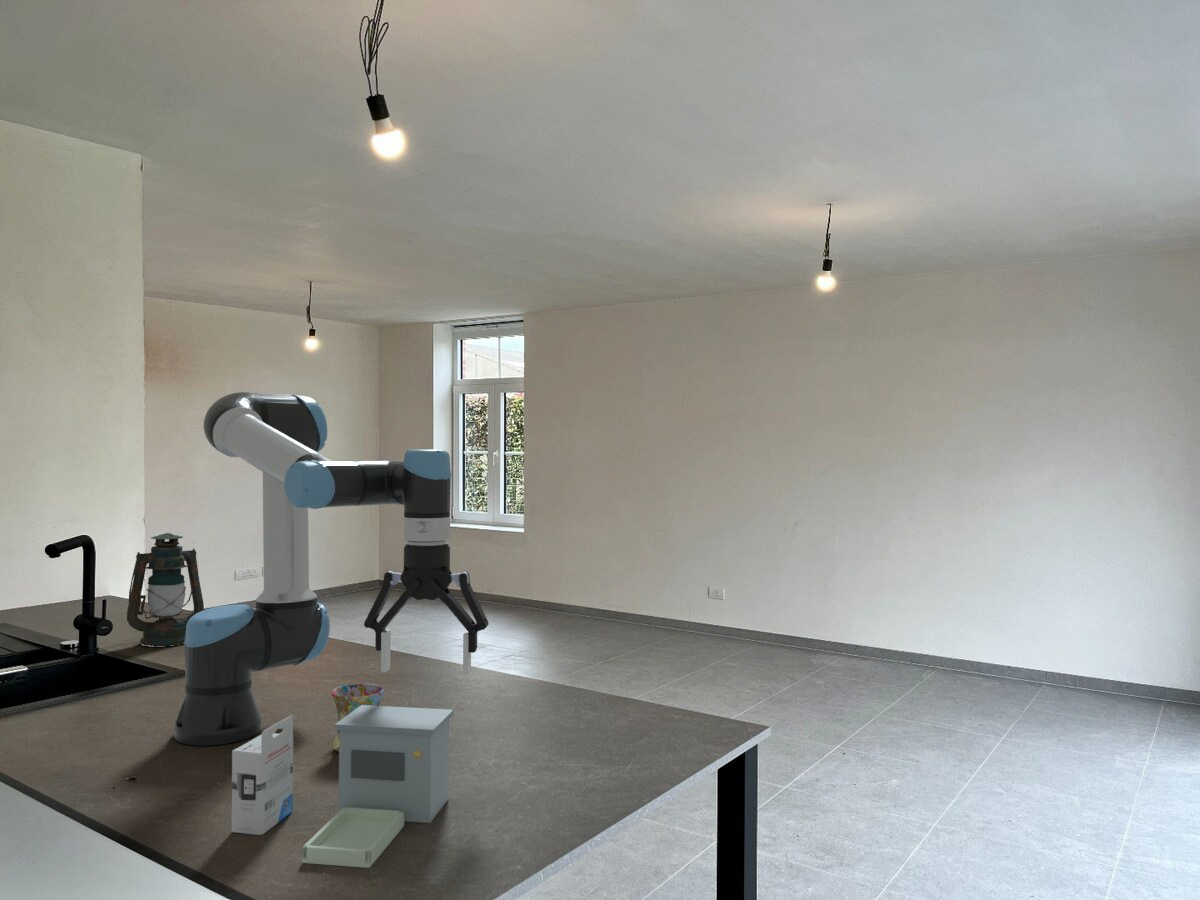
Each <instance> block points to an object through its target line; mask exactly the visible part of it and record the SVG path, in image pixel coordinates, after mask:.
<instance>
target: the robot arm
mask: <svg viewBox="0 0 1200 900" xmlns="http://www.w3.org/2000/svg"><path fill="white" fill-rule="evenodd" d="M327 423H328V422H327V418H326V415H325V412H324V411H323V408H322V407H321V406H320V405H319V403H318V402H317V401H316V400H314V399H313V398H311V397H310V396H306V395H298V394H294V393H288V394H287V393H285V394H284V393H262V392H261V393H259V392H246V391H245V392H244V391H241V392H233V393H230V394H227V395H223V396H222V397H220V398H218V399H217V400H215V401H214V403H212V405H210V407H209V408H208V409H207V411H206V413H205V416H204V419H203V432H204V435H205V437H206V439H207V441H208V442H209V444H210V445H211V446H212V447H213V448H214V449H215V450H217V451H218V452H219V453H221V454H223V455H224V456H227V457H229V458H239V459H241V460H242V461H245V462H246V463H248V464H249V465H251V466H253V467H254V468H256V469H258V470H259V471H261V472H262V525H263V526H262V528H263V530H262V533H263V535H262V542H263V551H262V553H263V590H262V592H261V593H260V594H259V595H258V596H257V597H256V598H255V610H253V608H252V606H250V605H248V604H243V603H242V604H241V603H239V604H238V603H235V604H229V605H226V604H225V605H219V606H214V607H211V608H206V609H204V611H201V612H199V613H196V614H195V615H193V616H192V617H191V618H190V619H189V620H188V622H187V626H186V636H185V640H184V643H185V644H184V651H185V653H184V654H185V655H184V657H185V659H184V660H185V661H184V662H185V663H184V664H185V665H184V667H185V669H184V670H185V674H184V675H185V676H184V678H185V679H184V680H185V682H184V683H185V684H184V685H185V686H184V692H185V693H184V697H183V701H182V702H181V703H182V704H181V706H180V709H179V712H178V714H177V718H176V721H175V723H174V736H173V738H174V740H175V741H176V742H178V743H179V744H182V745H189V746H218V745H225V744H233V743H236V742H240V741H243V740H244V741H245V740H246V739H250V738H251V737H253V736H256V735H257V734H258V733H260V732H261V730H262V716H261V713H260V710H259V707H258V703H257V701H256V698H255V695H254V692H253V689H252V688H253V673H254V672H261V671H264V670H269V669H275V668H280V667H286V666H297V665H301V664H302V663H306V662H310V661H313V660H315V659H317V658H318V657H320V656H321V654H322V652H324V650H325V648H326V647H327V645H328V641H329V636H330V631H331V630H330V629H331V623H330V617H329V615H328V611H327V609H326V607H325V606H324V605H323V604H322V603H320V602H318V594H316V593H315V592H314V591H313V590H312V589H311V588H310V559H309V558H310V557H309V556H310V554H309V553H310V552H309V551H310V548H309V547H310V546H309V541H310V540H309V537H310V536H309V535H310V534H309V509H313V510H318V509H322V508H323V509H324V508H337V507H351V506H352V507H353V506H355V507H356V506H358V507H359V506H360V507H361V506H379V505H397V506H399V505H400V506H403V510H404V512H403V540H404V541H405V542H407V543H405V544H404V545H403V571H402V573H401V572H395V570H389V571H386V572H385V573H384V575H383V579H382V580H383V581H382V587H381V588H380V590H379V593H378V594H377V596H376V599H375V600H374V602H373V604H372V607H371V608H370V611H369V612H368V614H367V617H366V619H365V620H364V622H363V626H364V627H365V629H366V628H367V629H372V630H373V631H374V632H375V636H374V637H375V647H374V648H375V650H376V652H379V651H380V672H381V673H387V672H388V671H389V670H390V669H391V640H392V639H391V629H386V628H387V626H389V624H390V623H391V622H392V621H393V619H394V618H395V617H396V616H397V615H398V614H399V612H400V611H401V610H402V609H403V608H404V607H405V606H406V605H407V604H408V602H409V601H410V600H411V599H412V598H413V599H415V600H416V601H417V600H418V601H420V600H424V599H425V600H428V601H435V600H437V599H439V600H440V601H441V602H442V603H444V604H445V606H446V607H447V608H448V609H449V610H450V612H451V613H452V614H453V615H454V616H455V617H456V619H457V620H458V621H459V623H460V624H461V625H462V626H463V627H464V629H465V630H466V631H465V632H464V633H463V635H462V637H463V639H462V641H463V642H462V643H463V644H462V649H463V650H462V674H463V675H468V674H469V673H470V672H471V671H472V653H473V654H475V653H476V651H477V649H478V633H479V632H480V631H483V630H485V629H486V628H487V627H488V626H489V623H490V622H489V621H488V618H487V615H486V614H485V611H484V610H483V609H482V606H481V604H480V602H479V600H478V598H477V596H476V594H475V592H474V590H473V587H472V585H471V579H470V573H469V572H468V571H465V570H464V571H462V572H459V573H452V571H451V545H450V544H449V543H448V541H450V540H451V490H452V489H451V481H452V480H451V479H452V475H453V474H452V471H451V460H450V459H451V457H450V453H449V452H448V451H447V450H445V449H408V450H406V451H405V453H404V457H403V458H404V459H403V460H392V459H376V460H333V459H330V458H328V457H326V456H324V455H322V454H320V453H319V452H320V451H322V450H323V449H324V447H325V445H326V441H327V439H328V424H327ZM399 581H401V583H402V584H403V586H404V588H405V590H404V591H403V592H402V594H401V595H400V596H399V598H398V599H397V600H396V601H395V602H394V604H393V605H392V606H391V607H390V608H389V609H388V611H386V612H385V614H384V615H383V617H382V618H381V619H380V620H378V618H379V617H380V615H381V612H382V610H383V608H384V606H385V604H386V602H387V600H388V598H389V596H390V595H391V592H392V590H393V588H394V586H396V585H397V584H398V583H399ZM453 582H454V583H455V585H456V586H457V587H459V588H460V591H461V593H462V595H463V598H464V600H465V602H466V604H467V606H468V609H469V610H470V612H471V614H472V616H473V618H474V619H473V618H472V617H471V616H470V614H469V613H468V612H467V611H466V609H465V608H464V607H463V606H462V605H461V603H460V601H458V599H456V597H455V596H454V594H453V593H452V591H451V590H450V589H449V587H450V585H451V583H453Z"/></svg>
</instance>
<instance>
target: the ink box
mask: <svg viewBox="0 0 1200 900" xmlns="http://www.w3.org/2000/svg"><path fill="white" fill-rule="evenodd" d="M281 729H282V731H281V732H280V733H276V732H277V730H281ZM231 762H232V763H231V770H232V771H231V832H232V833H237V834H245V835H246V834H247V835H253V836H254V835H257V836H262V835H264V834H266V833H267V832H268V831H269V830H271V829H272V828H273V827H275V826H276V825H277V824H279V823H280V822H282V821H283V820H284V819H285V818H286V817H288V816H289V815H290V814H292V812H293V801H294V798H293V797H294V796H293V793H294V787H293V786H294V768H293V767H294V717H293V715H292V714H290V715H288V717H285V718H283V719H281V720H280V721H278V722H276V723H274V724H272V725H270V726H269V727H267V728H265V729H263V730H262V732H261V734H260V735H258V736H256V737H254V738H253V739H251V740H249V741H248V742H246V743H244V744H242V745H240V746H239V747H237V748H234V749H233V750H232V751H231Z"/></svg>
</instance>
